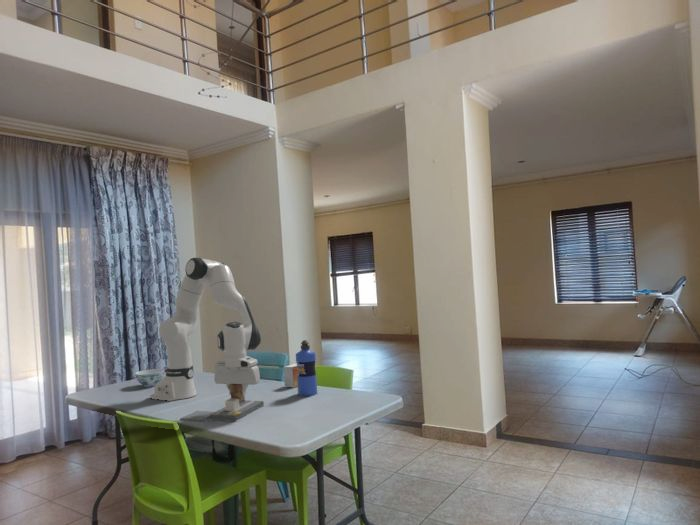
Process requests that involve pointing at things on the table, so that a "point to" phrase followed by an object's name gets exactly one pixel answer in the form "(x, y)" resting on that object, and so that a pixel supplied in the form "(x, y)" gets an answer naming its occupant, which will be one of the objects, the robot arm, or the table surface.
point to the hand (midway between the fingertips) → (237, 394)
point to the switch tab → (232, 404)
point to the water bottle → (306, 370)
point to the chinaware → (149, 377)
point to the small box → (290, 375)
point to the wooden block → (237, 392)
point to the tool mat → (197, 416)
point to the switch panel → (237, 411)
